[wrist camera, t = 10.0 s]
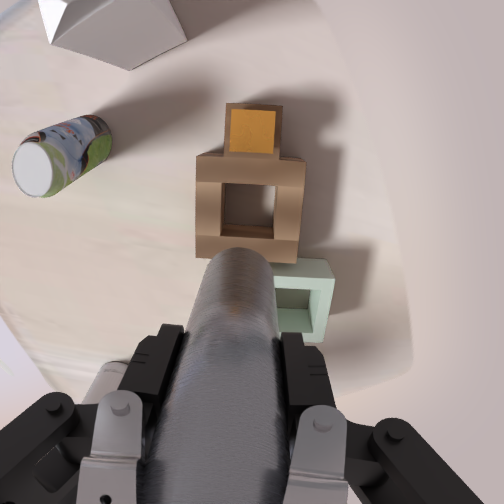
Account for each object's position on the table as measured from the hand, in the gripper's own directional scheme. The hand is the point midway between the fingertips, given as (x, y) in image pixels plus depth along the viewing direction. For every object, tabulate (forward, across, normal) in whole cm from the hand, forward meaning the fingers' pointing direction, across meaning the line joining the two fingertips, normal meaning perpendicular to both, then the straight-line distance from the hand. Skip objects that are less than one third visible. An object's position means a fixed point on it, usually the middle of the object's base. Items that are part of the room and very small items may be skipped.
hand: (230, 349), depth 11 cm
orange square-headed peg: (+23, 0, -8) cm, 24 cm away
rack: (+24, -5, +10) cm, 26 cm away
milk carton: (+24, +12, -19) cm, 33 cm away
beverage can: (+24, +18, -6) cm, 31 cm away
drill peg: (+6, 0, 0) cm, 6 cm away
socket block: (+24, 0, -3) cm, 24 cm away
